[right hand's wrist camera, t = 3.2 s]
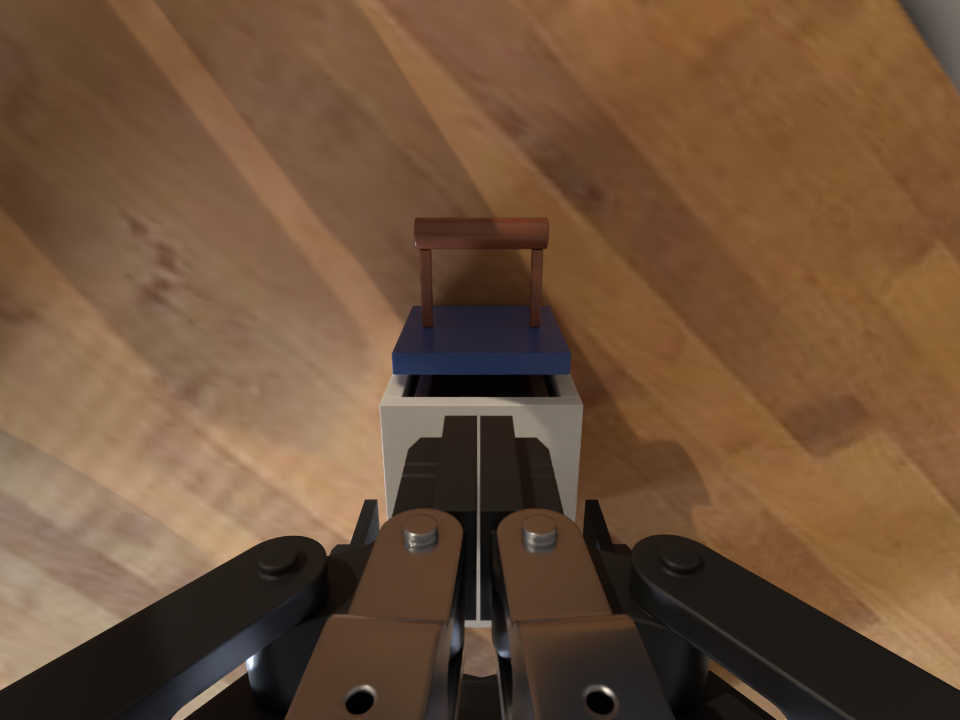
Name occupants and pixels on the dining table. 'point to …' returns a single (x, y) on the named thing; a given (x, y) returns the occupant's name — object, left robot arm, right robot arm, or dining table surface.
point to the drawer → (481, 321)
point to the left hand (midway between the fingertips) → (481, 517)
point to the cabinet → (532, 417)
